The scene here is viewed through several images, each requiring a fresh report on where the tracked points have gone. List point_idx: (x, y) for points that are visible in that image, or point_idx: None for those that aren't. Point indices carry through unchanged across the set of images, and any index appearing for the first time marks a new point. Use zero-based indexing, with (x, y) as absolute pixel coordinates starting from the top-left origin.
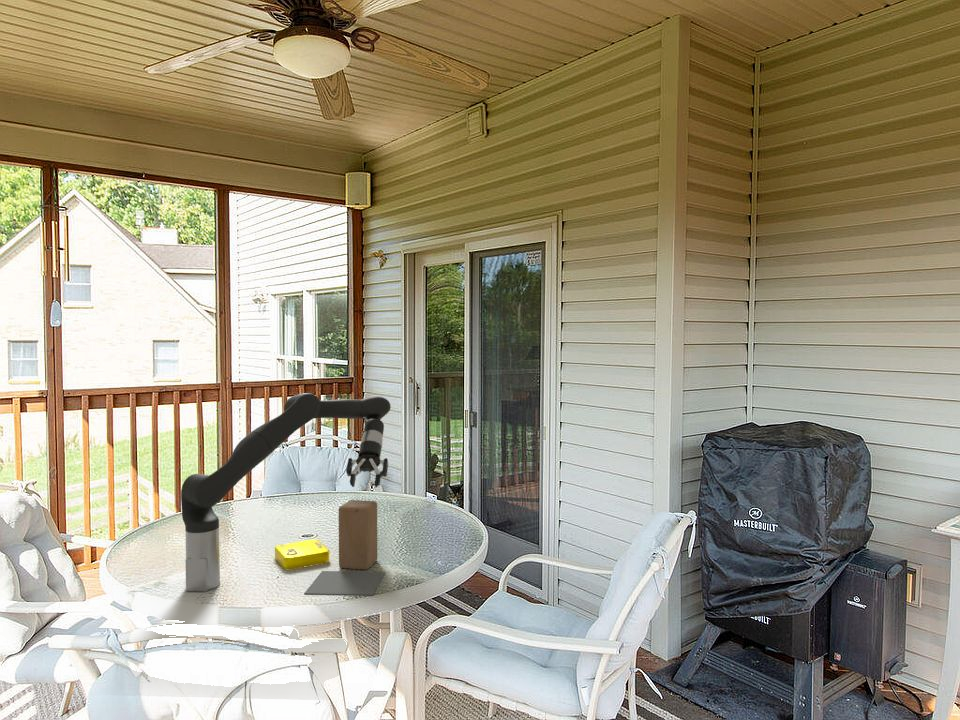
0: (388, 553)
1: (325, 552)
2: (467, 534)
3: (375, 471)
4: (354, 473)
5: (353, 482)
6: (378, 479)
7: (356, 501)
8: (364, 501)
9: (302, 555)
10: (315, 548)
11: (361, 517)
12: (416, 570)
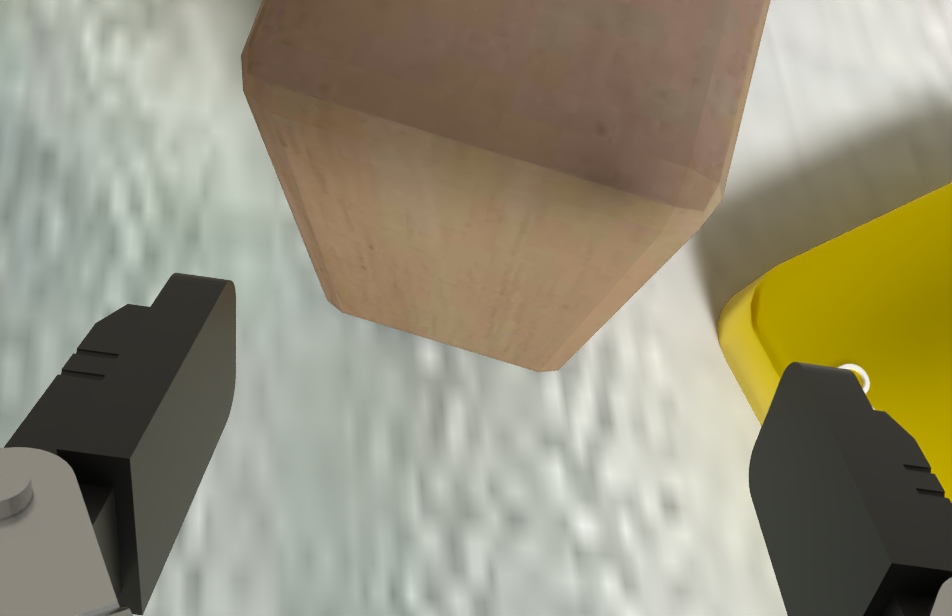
0: (236, 485)
1: (769, 271)
2: None
3: (112, 602)
4: (926, 612)
5: (801, 398)
6: (91, 383)
7: (585, 67)
8: (449, 52)
9: (938, 195)
10: (879, 356)
11: None
12: (23, 63)
